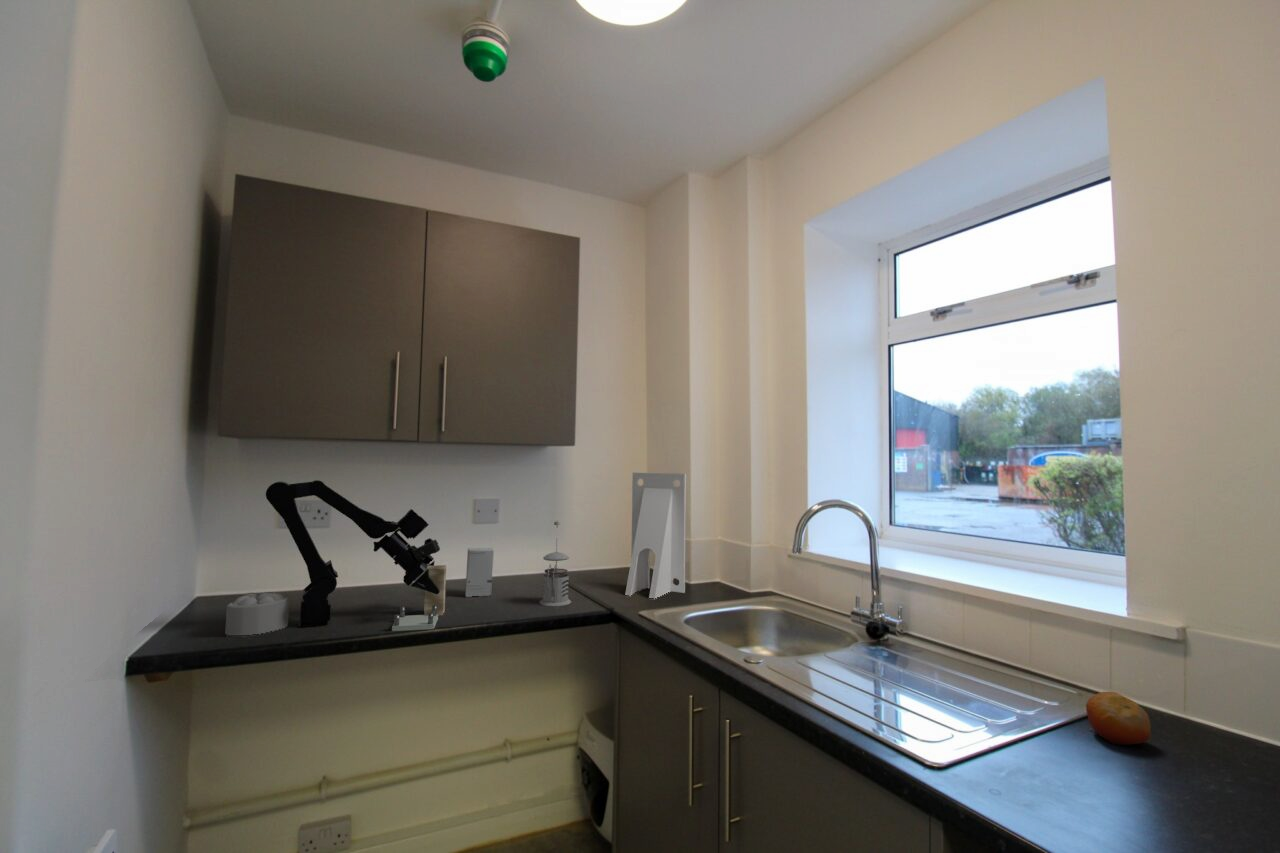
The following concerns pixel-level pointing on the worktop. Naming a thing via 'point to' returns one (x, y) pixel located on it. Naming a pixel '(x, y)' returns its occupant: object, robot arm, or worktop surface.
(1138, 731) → the fruit
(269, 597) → the lumpy-topped squat cylinder
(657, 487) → the grey wedge bracket
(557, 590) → the french press
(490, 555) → the skincare box
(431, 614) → the peg board
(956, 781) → the worktop surface
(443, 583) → the birch post
